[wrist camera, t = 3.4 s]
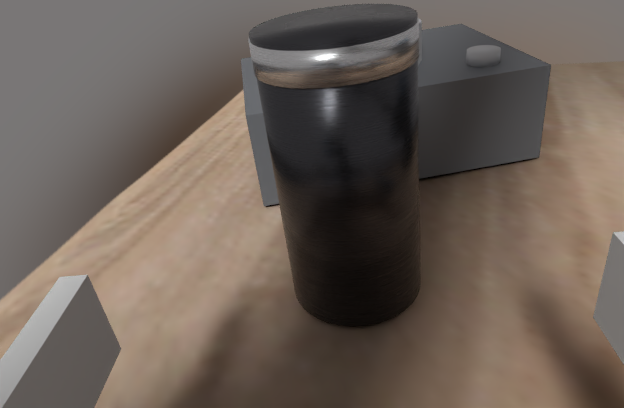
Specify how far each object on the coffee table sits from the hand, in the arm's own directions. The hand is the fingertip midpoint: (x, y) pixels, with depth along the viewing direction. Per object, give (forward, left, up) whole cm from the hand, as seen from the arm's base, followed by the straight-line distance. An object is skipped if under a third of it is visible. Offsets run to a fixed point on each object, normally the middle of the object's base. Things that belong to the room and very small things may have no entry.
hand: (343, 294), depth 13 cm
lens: (-2, -9, -7) cm, 11 cm away
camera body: (-7, -24, -7) cm, 26 cm away
